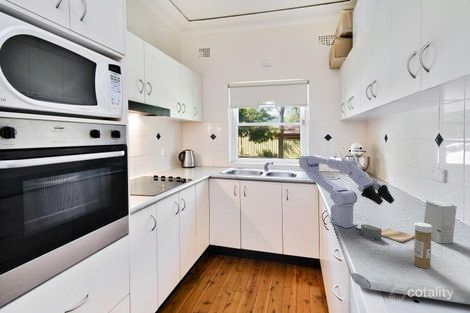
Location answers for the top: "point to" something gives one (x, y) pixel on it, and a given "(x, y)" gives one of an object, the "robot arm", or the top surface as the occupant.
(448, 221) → the skincare box
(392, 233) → the cork coaster
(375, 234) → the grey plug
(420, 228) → the sprinkles bottle
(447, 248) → the top surface
